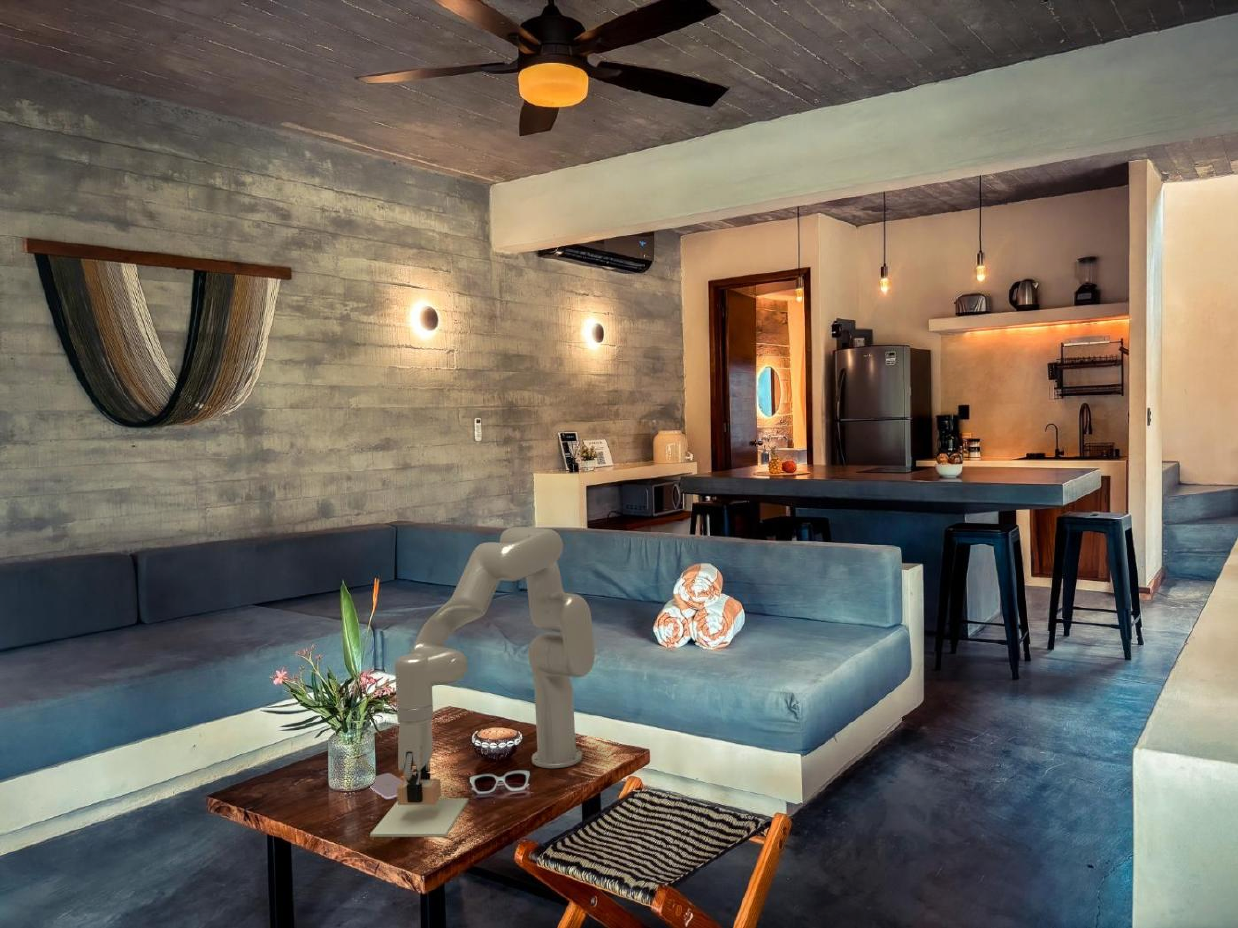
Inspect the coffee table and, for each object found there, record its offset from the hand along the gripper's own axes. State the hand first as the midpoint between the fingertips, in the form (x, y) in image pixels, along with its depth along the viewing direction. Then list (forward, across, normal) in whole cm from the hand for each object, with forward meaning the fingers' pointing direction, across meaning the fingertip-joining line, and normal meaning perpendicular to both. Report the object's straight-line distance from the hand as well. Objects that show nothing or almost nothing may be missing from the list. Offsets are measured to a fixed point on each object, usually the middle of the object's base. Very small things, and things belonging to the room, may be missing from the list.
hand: (419, 795), depth 199 cm
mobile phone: (+6, -18, -14) cm, 23 cm away
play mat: (+5, 0, 0) cm, 5 cm away
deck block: (+1, 0, 0) cm, 1 cm away
